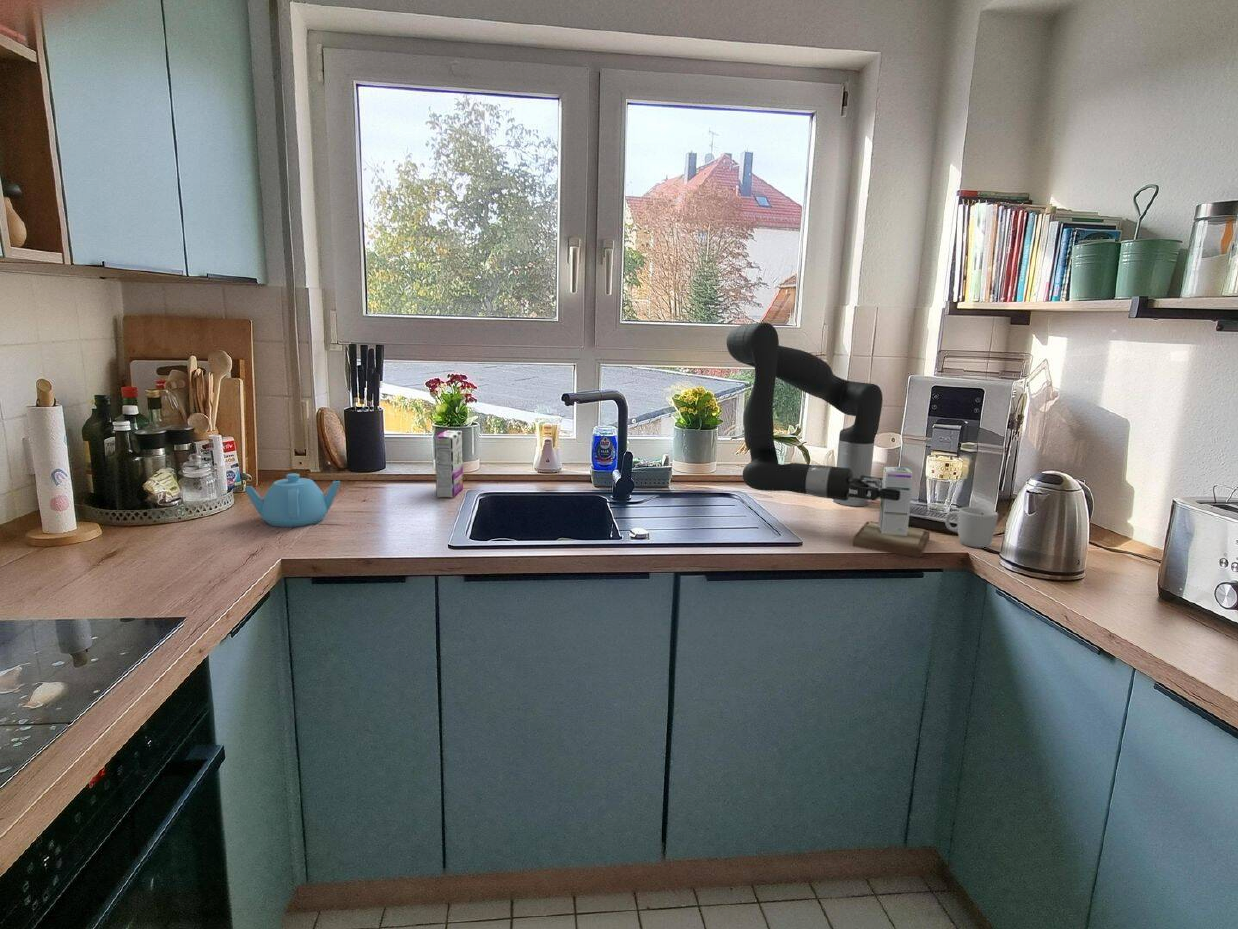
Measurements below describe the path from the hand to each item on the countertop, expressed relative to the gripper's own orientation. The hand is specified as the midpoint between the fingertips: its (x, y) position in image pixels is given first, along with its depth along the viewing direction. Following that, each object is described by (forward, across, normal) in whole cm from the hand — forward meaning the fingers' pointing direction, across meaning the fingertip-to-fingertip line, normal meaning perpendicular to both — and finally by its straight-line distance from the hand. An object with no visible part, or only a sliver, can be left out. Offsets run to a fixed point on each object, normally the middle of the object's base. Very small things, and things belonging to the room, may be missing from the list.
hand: (902, 492), depth 158 cm
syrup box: (-1, 0, +10) cm, 10 cm away
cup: (+14, +10, +12) cm, 21 cm away
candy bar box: (-111, -24, +12) cm, 114 cm away
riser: (-1, 0, +12) cm, 12 cm away
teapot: (-121, -64, +12) cm, 138 cm away
